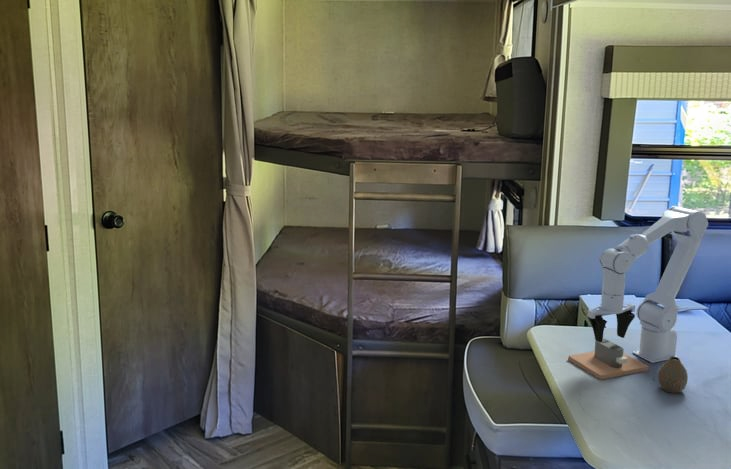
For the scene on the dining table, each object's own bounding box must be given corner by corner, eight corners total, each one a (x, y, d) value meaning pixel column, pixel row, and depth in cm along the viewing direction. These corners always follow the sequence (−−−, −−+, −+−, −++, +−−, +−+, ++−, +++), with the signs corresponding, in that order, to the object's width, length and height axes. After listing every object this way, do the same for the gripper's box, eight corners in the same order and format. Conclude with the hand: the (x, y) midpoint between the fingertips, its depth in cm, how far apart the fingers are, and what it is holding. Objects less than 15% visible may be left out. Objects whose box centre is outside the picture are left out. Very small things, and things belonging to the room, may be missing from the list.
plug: (601, 353, 190) (603, 337, 189) (628, 368, 180) (629, 351, 179) (591, 355, 189) (592, 339, 188) (617, 370, 179) (619, 353, 178)
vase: (674, 398, 166) (677, 366, 164) (651, 387, 172) (654, 356, 170) (692, 392, 169) (695, 360, 167) (669, 381, 175) (672, 350, 173)
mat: (613, 351, 194) (613, 347, 194) (648, 370, 181) (648, 366, 181) (568, 359, 189) (568, 355, 189) (600, 379, 176) (601, 375, 176)
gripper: (624, 285, 186) (620, 329, 189) (581, 291, 182) (579, 337, 185) (642, 292, 180) (638, 338, 183) (598, 299, 175) (595, 346, 178)
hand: (609, 338), depth 183 cm, fingers open, 7 cm apart
